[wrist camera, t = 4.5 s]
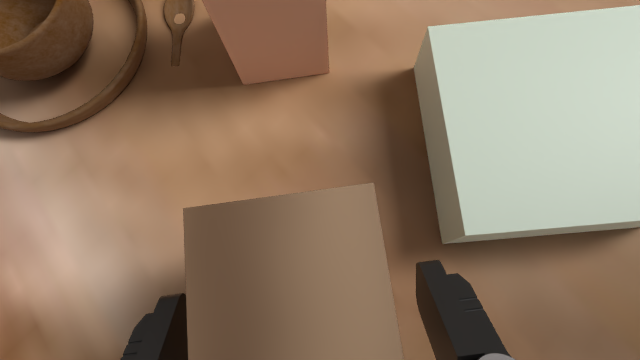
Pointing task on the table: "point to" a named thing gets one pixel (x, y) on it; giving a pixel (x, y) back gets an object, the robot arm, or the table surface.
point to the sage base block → (533, 123)
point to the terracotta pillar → (272, 37)
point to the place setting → (69, 48)
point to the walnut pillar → (290, 279)
